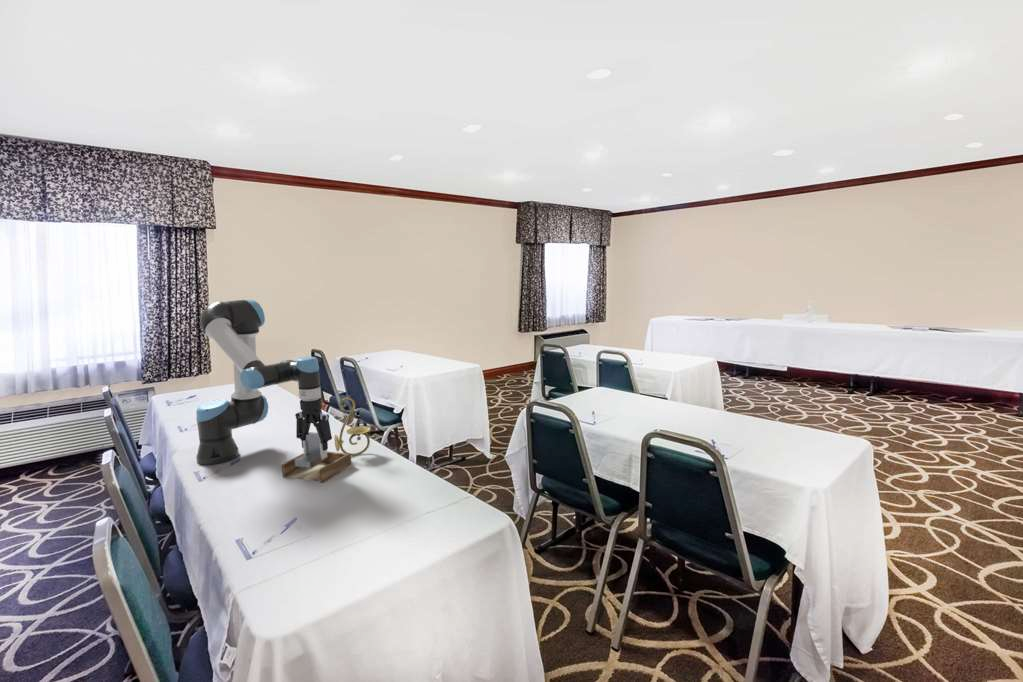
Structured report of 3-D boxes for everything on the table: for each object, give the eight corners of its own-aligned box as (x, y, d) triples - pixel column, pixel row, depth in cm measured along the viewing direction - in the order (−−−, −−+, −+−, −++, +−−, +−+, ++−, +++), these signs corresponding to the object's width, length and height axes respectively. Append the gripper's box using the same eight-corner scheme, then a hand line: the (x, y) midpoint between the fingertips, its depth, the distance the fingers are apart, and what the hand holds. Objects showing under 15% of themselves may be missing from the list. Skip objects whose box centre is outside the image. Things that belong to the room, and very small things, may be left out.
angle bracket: (312, 457, 193) (309, 432, 191) (327, 458, 191) (324, 433, 189) (295, 465, 185) (292, 440, 183) (310, 468, 182) (308, 441, 181)
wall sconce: (340, 463, 199) (335, 402, 195) (335, 455, 207) (330, 397, 203) (374, 455, 206) (370, 396, 202) (368, 448, 214) (364, 392, 210)
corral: (282, 477, 187) (281, 464, 186) (313, 460, 202) (312, 448, 201) (323, 483, 181) (322, 470, 180) (351, 465, 196) (350, 453, 195)
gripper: (281, 399, 186) (287, 458, 190) (325, 403, 180) (330, 463, 183) (296, 394, 193) (301, 451, 197) (339, 397, 187) (344, 456, 190)
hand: (315, 457), depth 190 cm, fingers closed on angle bracket, 7 cm apart
